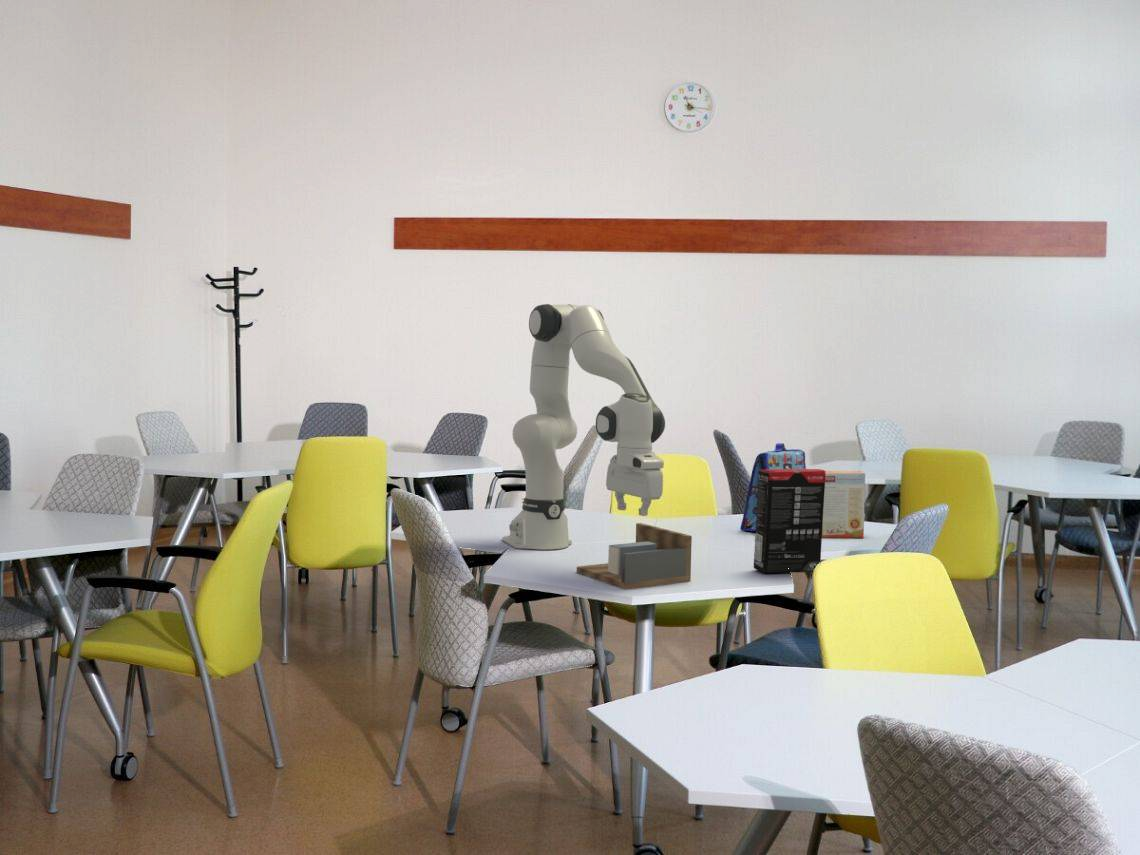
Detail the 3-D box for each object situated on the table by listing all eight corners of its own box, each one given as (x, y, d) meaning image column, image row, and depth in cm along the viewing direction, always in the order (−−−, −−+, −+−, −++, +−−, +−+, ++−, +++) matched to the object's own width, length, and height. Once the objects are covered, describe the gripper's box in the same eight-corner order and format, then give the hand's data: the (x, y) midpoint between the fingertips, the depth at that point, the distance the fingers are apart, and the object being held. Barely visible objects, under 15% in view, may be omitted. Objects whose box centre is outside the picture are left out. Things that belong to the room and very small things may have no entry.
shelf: (576, 572, 271) (577, 528, 270) (639, 565, 281) (640, 523, 280) (624, 589, 252) (625, 542, 251) (690, 581, 262) (691, 535, 262)
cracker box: (858, 535, 336) (860, 470, 334) (863, 538, 330) (866, 472, 328) (814, 534, 335) (817, 470, 334) (819, 538, 329) (822, 472, 328)
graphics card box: (809, 567, 283) (813, 467, 281) (823, 572, 276) (827, 470, 274) (752, 570, 278) (755, 468, 276) (765, 575, 271) (768, 471, 269)
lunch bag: (772, 536, 330) (775, 445, 328) (739, 530, 341) (741, 442, 339) (813, 530, 345) (816, 443, 343) (780, 524, 355) (783, 440, 353)
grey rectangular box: (608, 572, 264) (608, 545, 263) (646, 568, 270) (647, 541, 270) (617, 575, 260) (617, 547, 260) (656, 571, 267) (657, 543, 266)
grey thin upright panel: (621, 581, 253) (622, 553, 253) (682, 574, 263) (682, 547, 262) (624, 583, 252) (625, 554, 251) (685, 575, 261) (686, 548, 261)
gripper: (601, 454, 270) (599, 507, 271) (647, 463, 253) (645, 519, 254) (621, 453, 274) (619, 506, 275) (668, 462, 256) (666, 518, 257)
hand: (632, 512), depth 264 cm, fingers open, 8 cm apart
